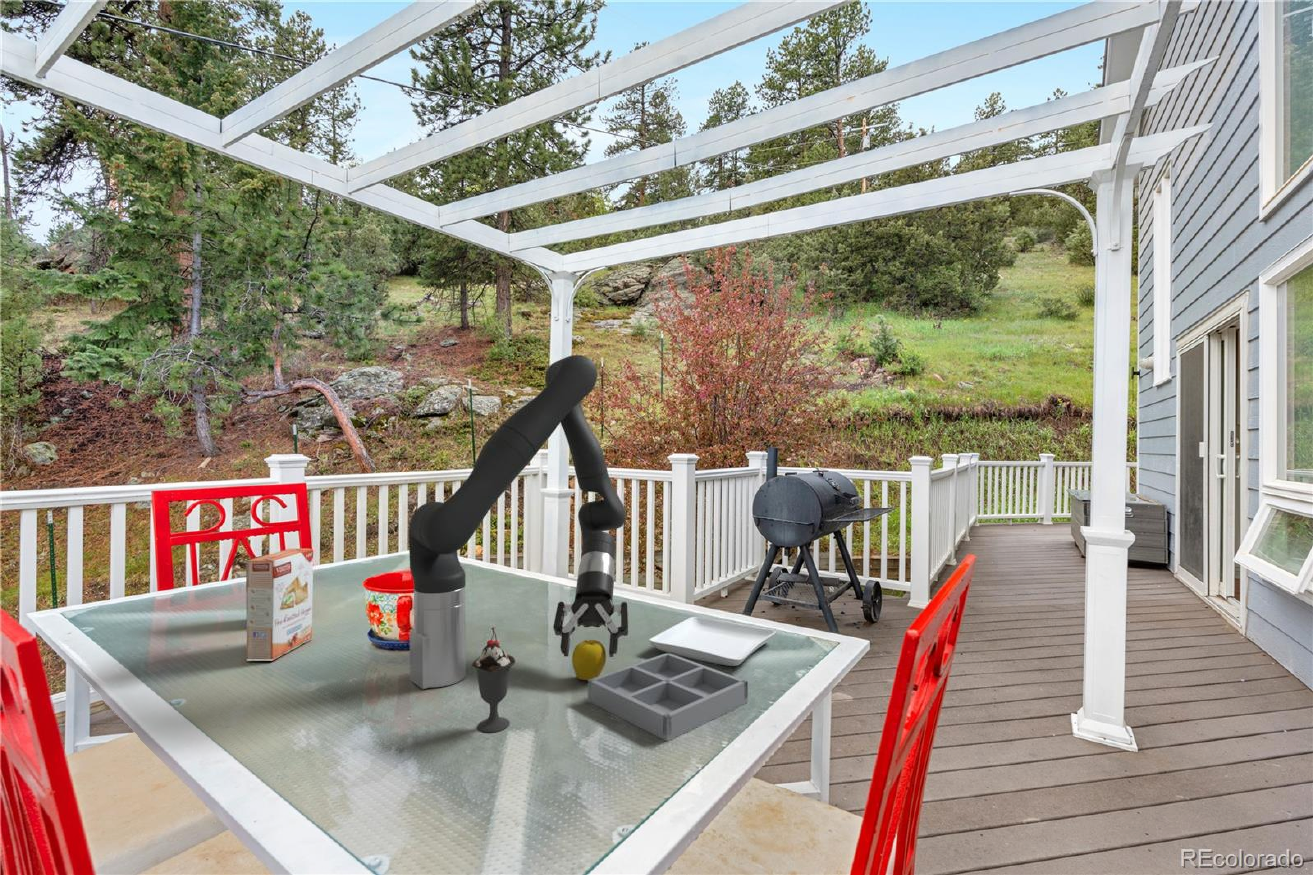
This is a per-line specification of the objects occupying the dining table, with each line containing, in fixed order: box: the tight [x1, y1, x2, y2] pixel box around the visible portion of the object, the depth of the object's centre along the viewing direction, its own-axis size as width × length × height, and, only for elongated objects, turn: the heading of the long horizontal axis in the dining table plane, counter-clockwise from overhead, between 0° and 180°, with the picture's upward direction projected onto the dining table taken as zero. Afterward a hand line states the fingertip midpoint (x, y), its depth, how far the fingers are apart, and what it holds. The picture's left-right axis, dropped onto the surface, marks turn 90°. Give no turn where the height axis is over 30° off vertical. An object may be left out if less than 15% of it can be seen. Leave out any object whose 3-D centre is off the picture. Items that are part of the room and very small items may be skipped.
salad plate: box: [648, 616, 776, 667], centre depth 132 cm, size 21×21×3 cm
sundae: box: [471, 626, 516, 734], centre depth 97 cm, size 7×7×15 cm
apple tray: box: [587, 652, 749, 742], centre depth 105 cm, size 20×20×4 cm
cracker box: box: [246, 548, 314, 660], centre depth 130 cm, size 14×6×21 cm, turn 179°
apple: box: [571, 639, 607, 681], centre depth 115 cm, size 6×6×8 cm
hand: (588, 655), depth 114 cm, fingers open, 8 cm apart
